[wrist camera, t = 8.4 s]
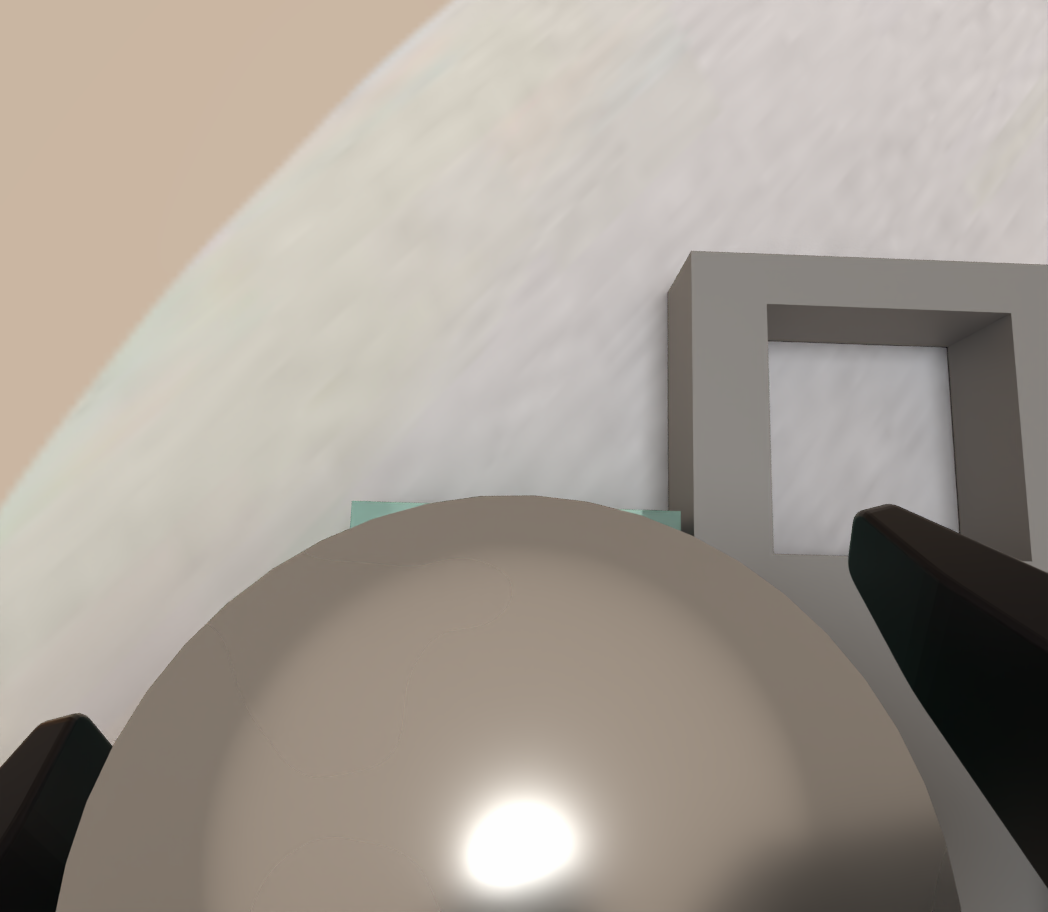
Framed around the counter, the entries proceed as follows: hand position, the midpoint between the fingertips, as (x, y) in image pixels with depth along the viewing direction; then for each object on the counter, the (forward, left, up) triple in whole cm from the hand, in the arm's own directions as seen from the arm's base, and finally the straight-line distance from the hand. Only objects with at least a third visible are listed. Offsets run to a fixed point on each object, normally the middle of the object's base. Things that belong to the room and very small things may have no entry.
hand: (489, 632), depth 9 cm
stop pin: (-1, 0, -9) cm, 9 cm away
